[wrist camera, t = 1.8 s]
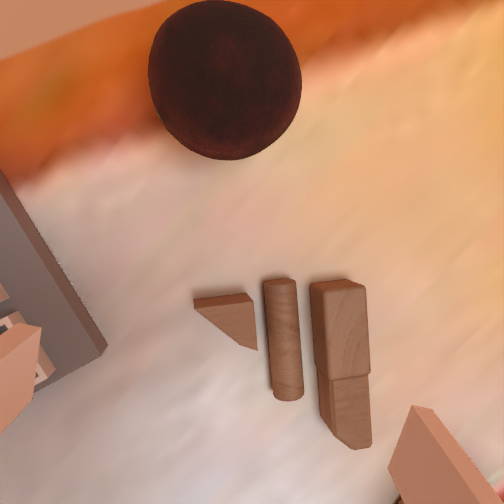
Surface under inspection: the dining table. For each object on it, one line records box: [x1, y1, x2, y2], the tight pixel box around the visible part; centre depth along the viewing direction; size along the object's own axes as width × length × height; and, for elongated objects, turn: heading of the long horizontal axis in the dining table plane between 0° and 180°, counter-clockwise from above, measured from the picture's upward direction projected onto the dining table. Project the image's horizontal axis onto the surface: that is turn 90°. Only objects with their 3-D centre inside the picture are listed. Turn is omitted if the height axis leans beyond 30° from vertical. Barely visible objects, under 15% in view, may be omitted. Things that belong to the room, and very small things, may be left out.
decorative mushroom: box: [148, 0, 302, 160], centre depth 30 cm, size 11×11×15 cm
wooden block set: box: [194, 279, 372, 450], centre depth 38 cm, size 17×6×18 cm
